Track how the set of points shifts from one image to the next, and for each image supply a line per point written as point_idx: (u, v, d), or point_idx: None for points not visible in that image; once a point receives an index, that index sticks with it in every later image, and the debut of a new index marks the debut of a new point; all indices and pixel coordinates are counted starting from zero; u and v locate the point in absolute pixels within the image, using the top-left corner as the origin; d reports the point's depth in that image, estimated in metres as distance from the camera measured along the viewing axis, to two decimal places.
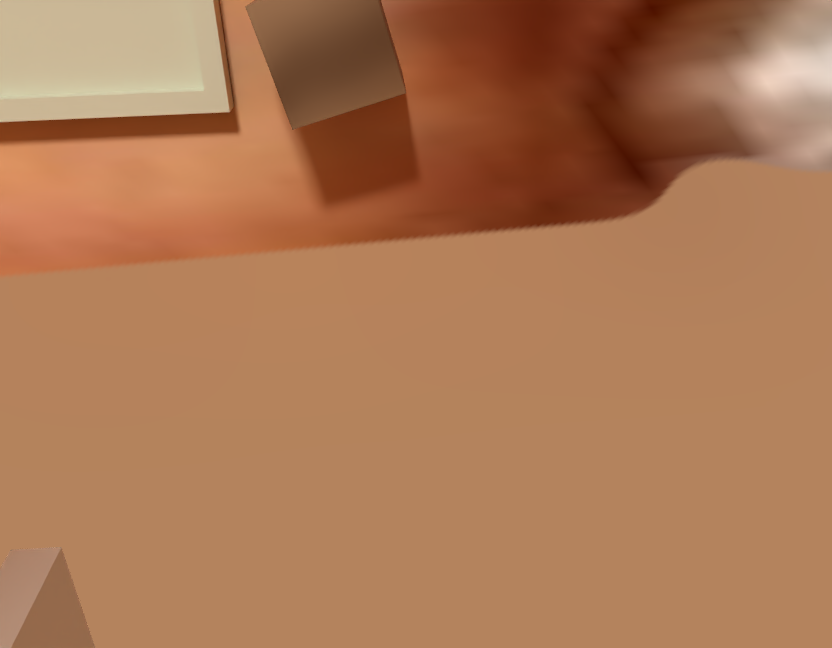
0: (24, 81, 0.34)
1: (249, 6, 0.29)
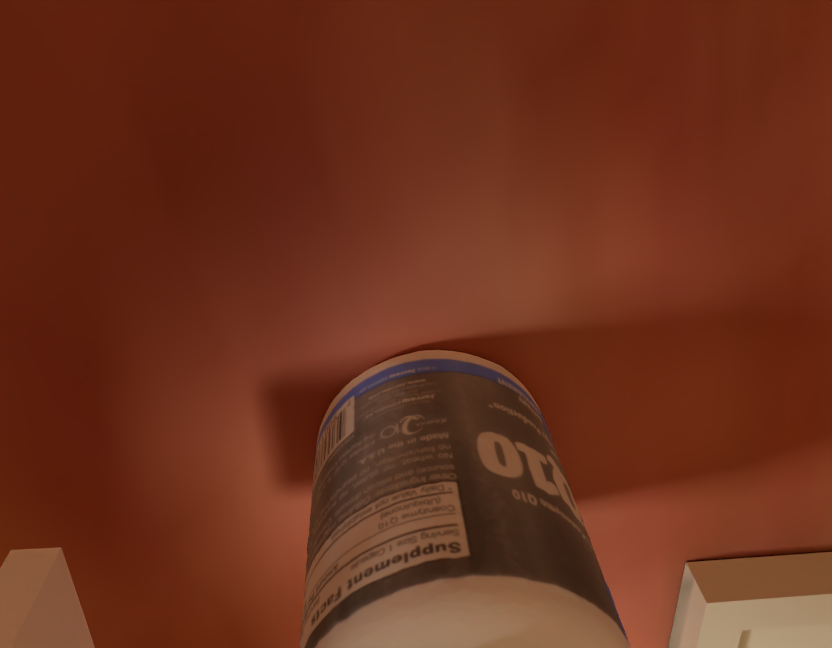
0: None
1: None
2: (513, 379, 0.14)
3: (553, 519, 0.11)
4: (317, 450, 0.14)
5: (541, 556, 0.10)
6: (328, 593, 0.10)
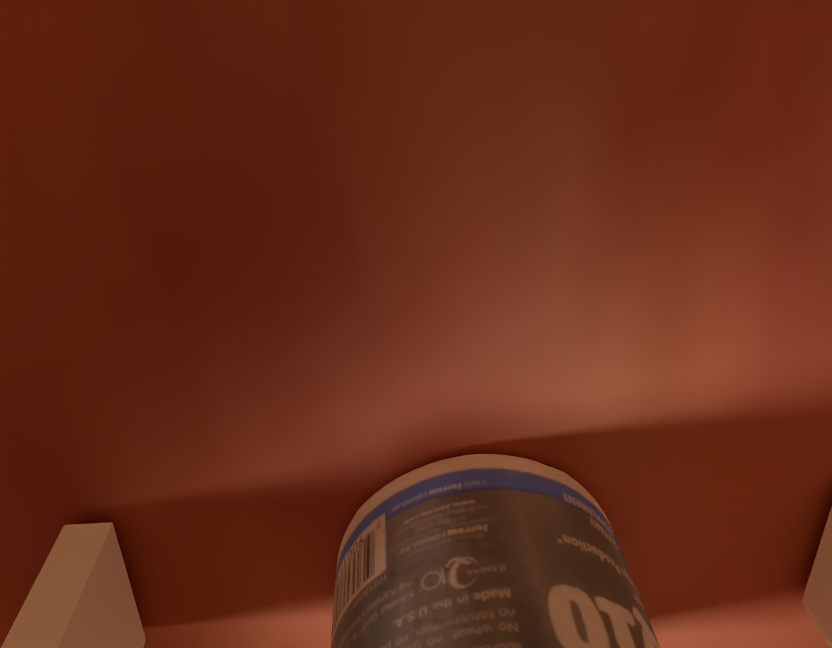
0: None
1: None
2: (580, 491, 0.12)
3: None
4: (338, 576, 0.11)
5: None
6: None
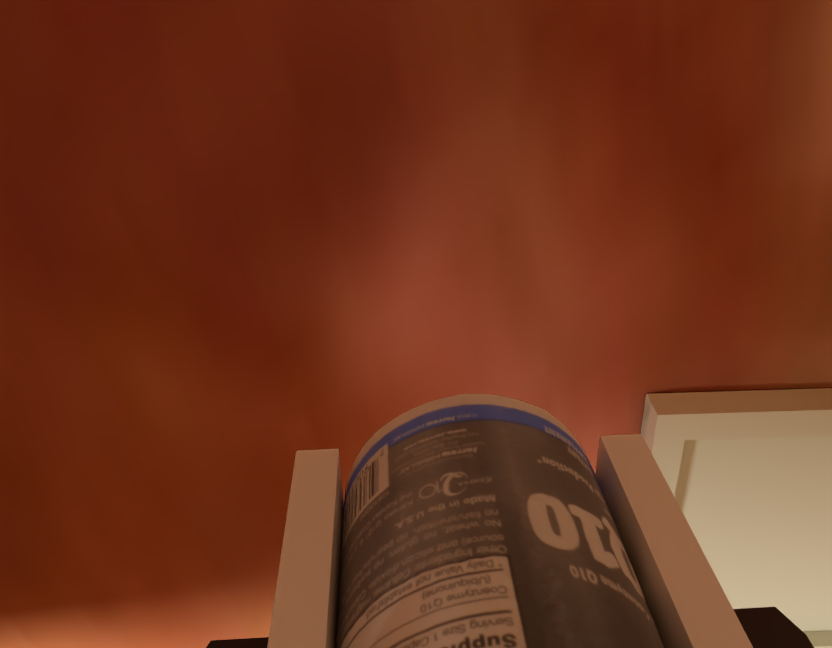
0: None
1: None
2: (560, 426, 0.13)
3: (616, 600, 0.10)
4: (346, 501, 0.13)
5: None
6: None
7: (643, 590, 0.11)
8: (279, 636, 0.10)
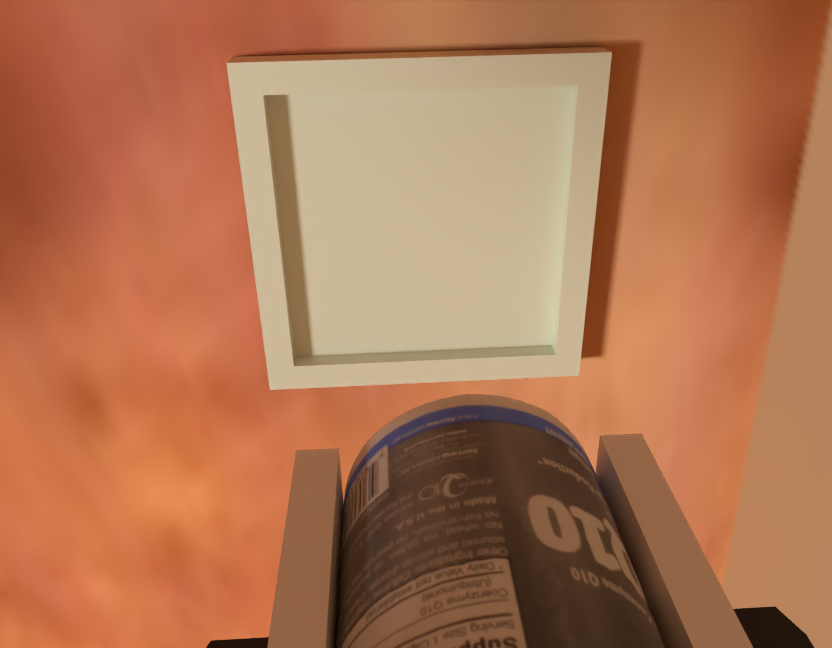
0: (538, 304, 0.28)
1: None
2: (561, 427, 0.13)
3: (618, 603, 0.09)
4: (346, 502, 0.13)
5: None
6: None
7: (643, 590, 0.11)
8: (279, 636, 0.10)
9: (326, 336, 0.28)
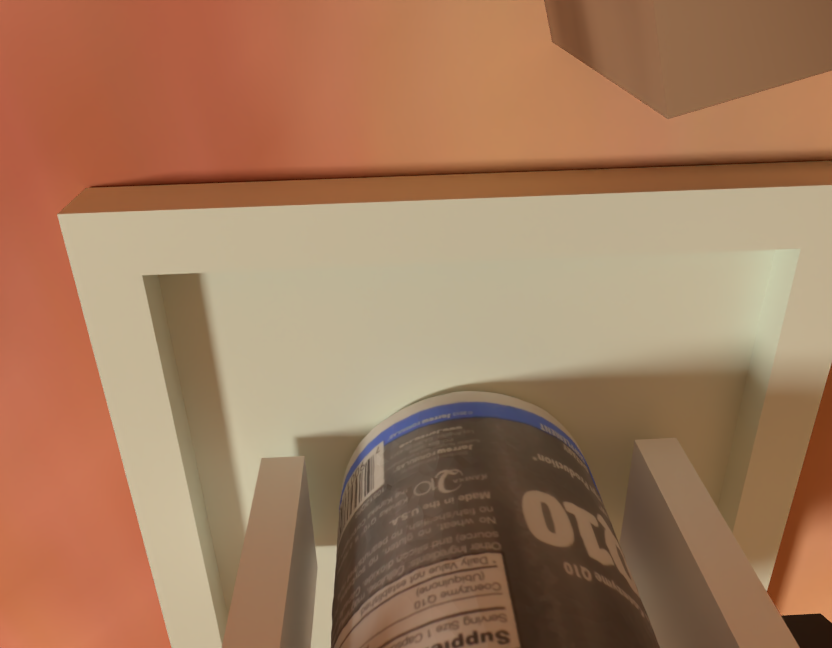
0: None
1: (671, 100, 0.07)
2: (556, 424, 0.13)
3: (610, 596, 0.10)
4: (342, 499, 0.13)
5: (601, 647, 0.09)
6: None
7: (685, 596, 0.11)
8: None
9: None
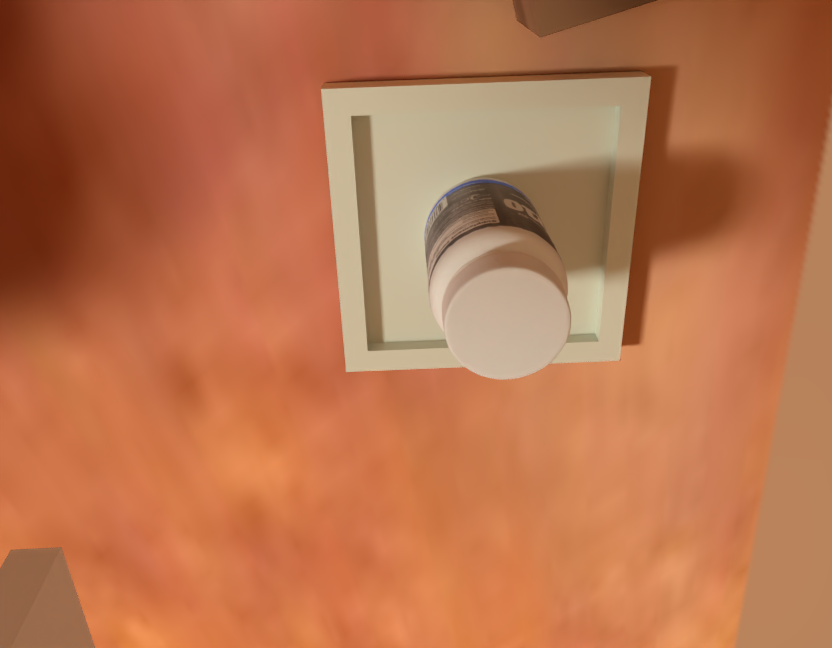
0: (583, 297, 0.32)
1: (540, 31, 0.23)
2: (522, 192, 0.29)
3: (535, 223, 0.26)
4: (427, 225, 0.29)
5: (528, 227, 0.25)
6: (442, 245, 0.25)
7: None
8: None
9: (395, 325, 0.32)
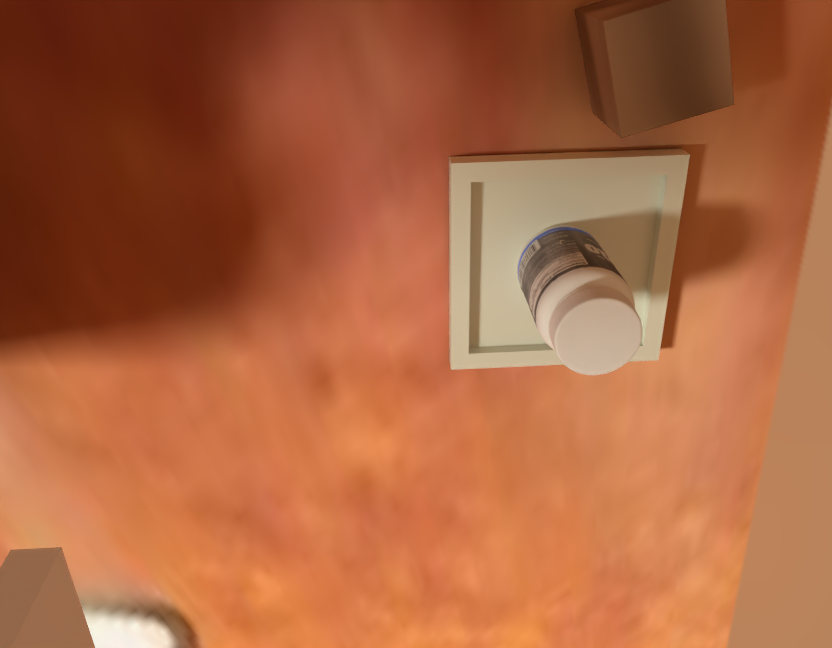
0: None
1: (622, 134, 0.33)
2: (592, 236, 0.39)
3: (610, 263, 0.36)
4: (521, 260, 0.39)
5: (607, 266, 0.35)
6: (546, 279, 0.35)
7: None
8: None
9: (489, 333, 0.42)
